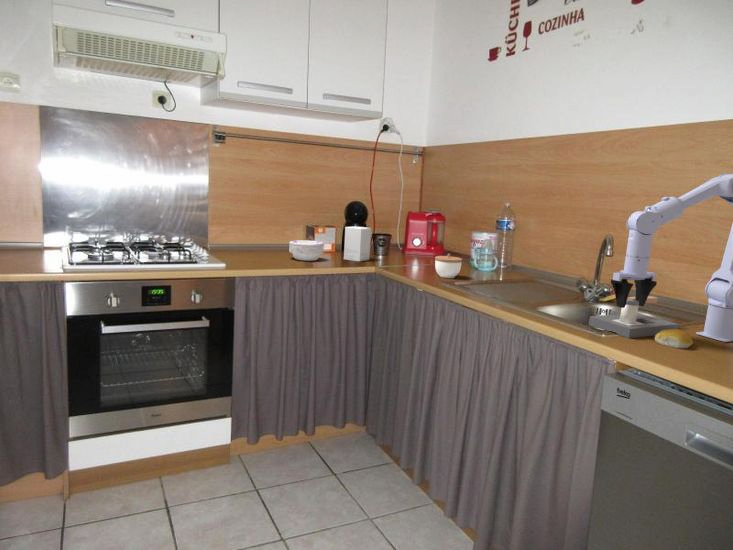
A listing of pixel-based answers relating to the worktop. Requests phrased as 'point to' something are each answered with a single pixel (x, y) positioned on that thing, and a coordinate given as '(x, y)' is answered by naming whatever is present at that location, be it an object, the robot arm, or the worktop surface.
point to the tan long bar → (649, 299)
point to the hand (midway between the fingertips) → (630, 306)
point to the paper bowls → (306, 249)
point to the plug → (629, 312)
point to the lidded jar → (447, 266)
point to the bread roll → (674, 338)
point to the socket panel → (632, 325)
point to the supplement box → (357, 243)
